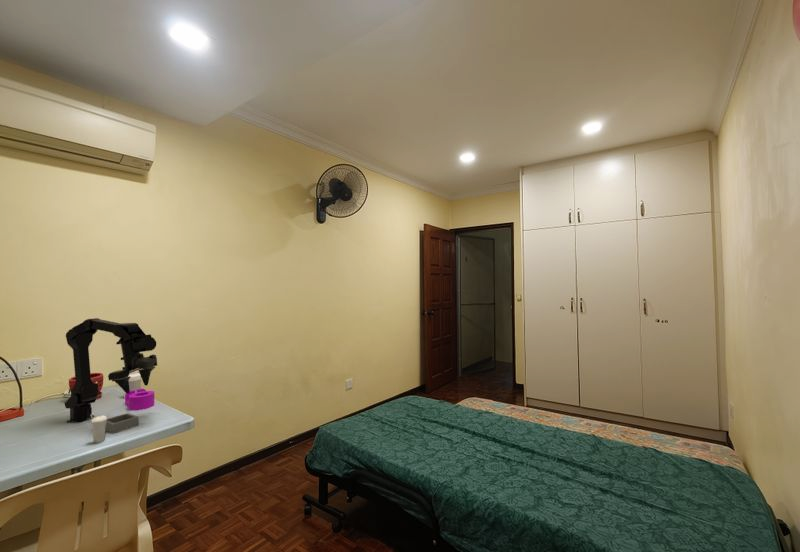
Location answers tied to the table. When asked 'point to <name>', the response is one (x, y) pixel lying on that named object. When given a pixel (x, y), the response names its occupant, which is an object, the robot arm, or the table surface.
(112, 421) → the collar
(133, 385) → the spray bottle
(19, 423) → the table surface
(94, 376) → the plant pot
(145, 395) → the tape dispenser
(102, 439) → the milkshake
